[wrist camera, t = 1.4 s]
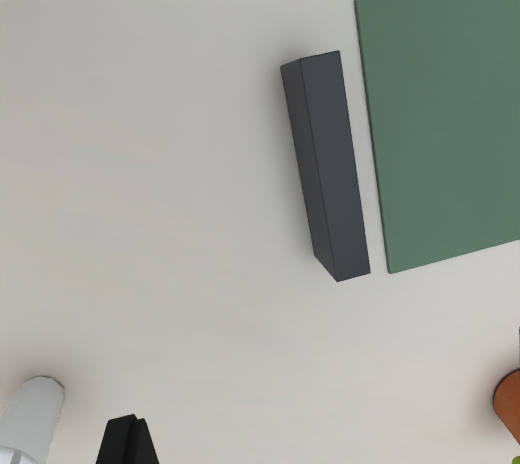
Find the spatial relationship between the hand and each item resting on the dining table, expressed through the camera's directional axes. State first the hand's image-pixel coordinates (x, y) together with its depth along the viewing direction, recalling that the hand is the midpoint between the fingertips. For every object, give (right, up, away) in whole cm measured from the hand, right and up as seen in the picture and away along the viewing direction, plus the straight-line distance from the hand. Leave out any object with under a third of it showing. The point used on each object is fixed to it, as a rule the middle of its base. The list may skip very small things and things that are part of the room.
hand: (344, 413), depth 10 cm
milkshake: (-18, -8, +23) cm, 30 cm away
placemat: (+13, +12, +22) cm, 28 cm away
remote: (+2, +9, +19) cm, 21 cm away
